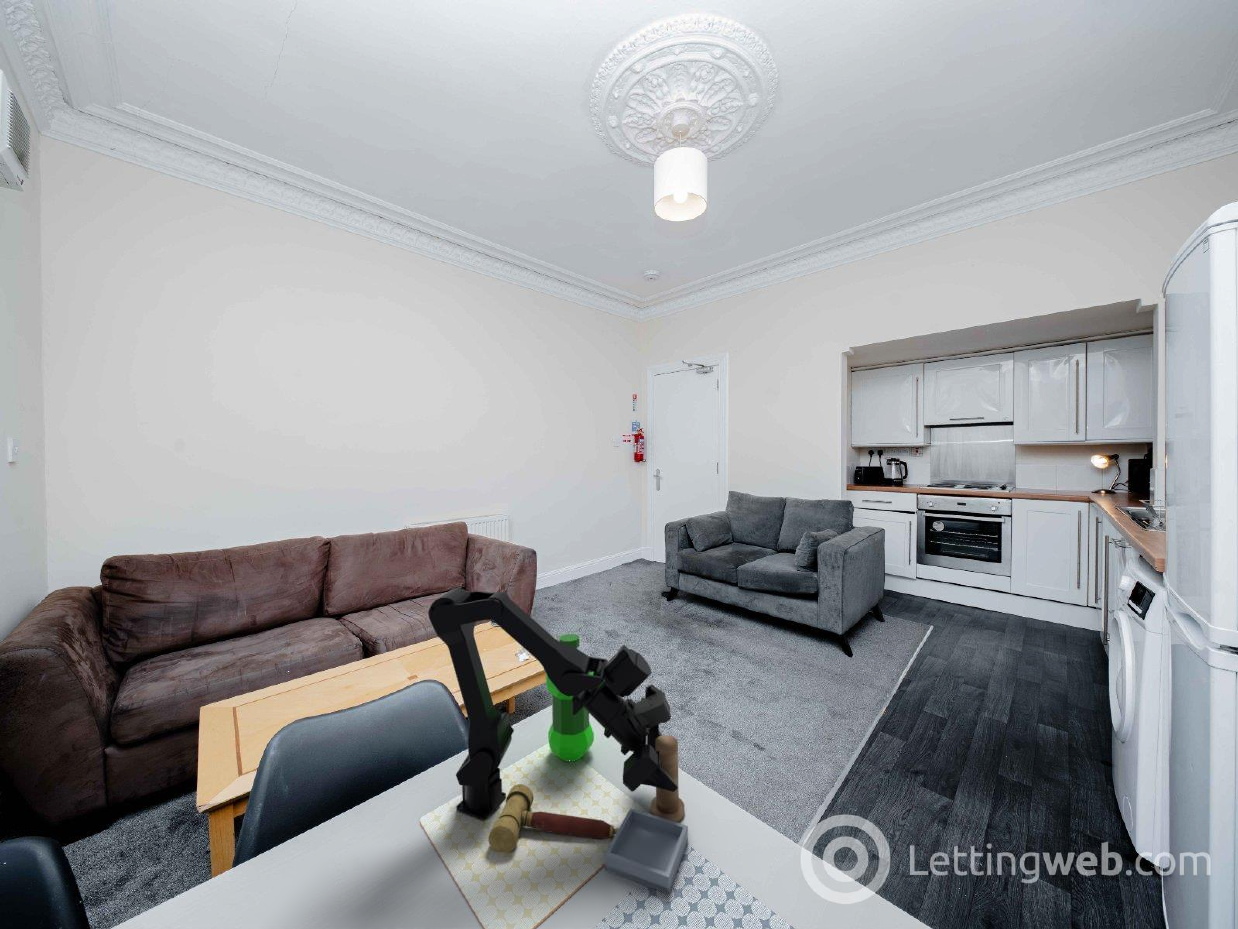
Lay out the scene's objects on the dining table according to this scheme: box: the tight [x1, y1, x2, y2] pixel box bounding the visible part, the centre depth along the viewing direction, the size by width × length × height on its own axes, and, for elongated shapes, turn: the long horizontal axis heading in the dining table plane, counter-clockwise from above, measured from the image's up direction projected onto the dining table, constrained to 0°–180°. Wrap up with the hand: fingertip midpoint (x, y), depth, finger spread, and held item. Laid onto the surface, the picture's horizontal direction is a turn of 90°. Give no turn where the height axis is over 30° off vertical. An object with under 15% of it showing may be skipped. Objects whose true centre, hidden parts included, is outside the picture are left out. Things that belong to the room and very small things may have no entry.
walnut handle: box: [650, 734, 685, 823], centre depth 83 cm, size 6×6×12 cm
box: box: [604, 807, 689, 895], centre depth 74 cm, size 10×10×2 cm
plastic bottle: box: [545, 633, 595, 762], centre depth 100 cm, size 10×10×25 cm
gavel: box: [488, 783, 619, 854], centre depth 79 cm, size 21×5×10 cm
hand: (674, 774), depth 83 cm, fingers open, 7 cm apart
